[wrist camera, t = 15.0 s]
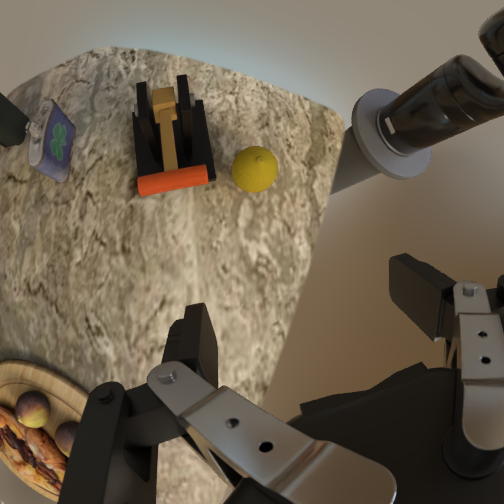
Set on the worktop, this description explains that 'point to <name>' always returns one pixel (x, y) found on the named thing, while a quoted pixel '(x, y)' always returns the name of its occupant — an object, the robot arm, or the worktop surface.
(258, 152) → the lemon
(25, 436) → the wooden plate
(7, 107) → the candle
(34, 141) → the flask
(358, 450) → the robot arm
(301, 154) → the worktop surface
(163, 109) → the valve lever
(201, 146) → the black lever stand
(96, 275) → the worktop surface
